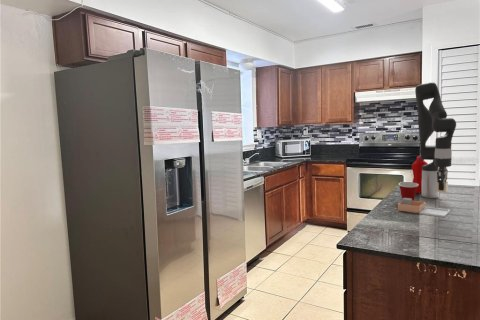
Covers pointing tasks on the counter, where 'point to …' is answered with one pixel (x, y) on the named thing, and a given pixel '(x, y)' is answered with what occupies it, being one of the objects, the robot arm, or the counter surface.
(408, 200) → the grey stacked cube
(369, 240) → the counter surface
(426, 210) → the tray
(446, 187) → the beige wooden cube
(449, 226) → the counter surface
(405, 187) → the plastic cup
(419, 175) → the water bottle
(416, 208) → the dish
